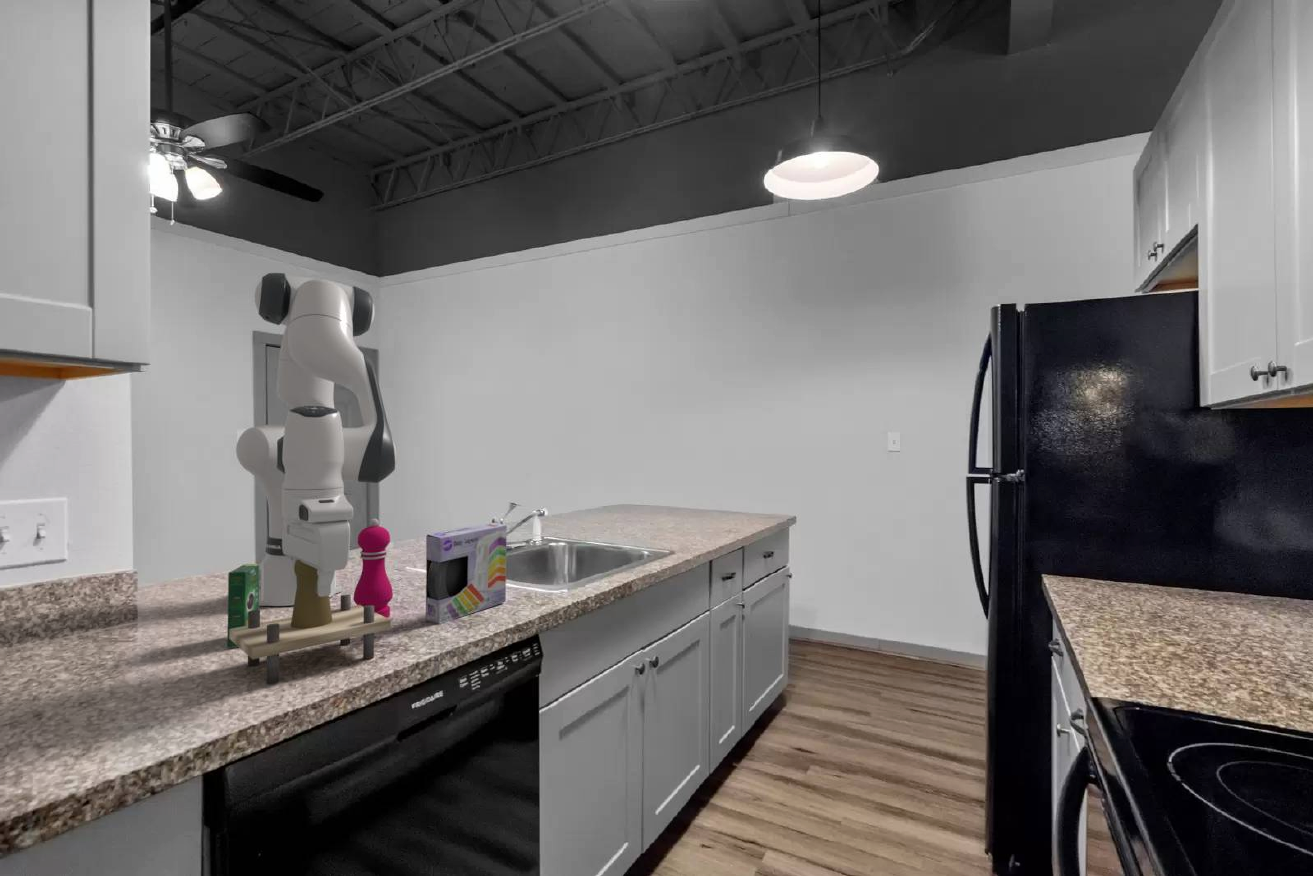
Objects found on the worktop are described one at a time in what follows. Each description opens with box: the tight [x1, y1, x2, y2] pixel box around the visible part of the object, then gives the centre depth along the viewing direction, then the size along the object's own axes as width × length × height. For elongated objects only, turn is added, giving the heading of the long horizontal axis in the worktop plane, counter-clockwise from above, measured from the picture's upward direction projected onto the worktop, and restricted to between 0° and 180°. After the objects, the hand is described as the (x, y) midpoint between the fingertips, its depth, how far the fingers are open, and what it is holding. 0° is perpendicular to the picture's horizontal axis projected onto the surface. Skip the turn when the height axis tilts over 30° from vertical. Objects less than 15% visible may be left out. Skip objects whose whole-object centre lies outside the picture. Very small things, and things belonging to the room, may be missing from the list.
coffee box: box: [226, 563, 260, 649], centre depth 111 cm, size 8×3×13 cm, turn 17°
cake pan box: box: [425, 522, 508, 625], centre depth 129 cm, size 19×5×18 cm, turn 148°
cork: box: [291, 560, 332, 628], centre depth 102 cm, size 6×6×11 cm
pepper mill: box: [353, 518, 394, 619], centre depth 125 cm, size 7×7×20 cm
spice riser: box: [229, 593, 392, 685], centre depth 101 cm, size 13×20×8 cm, turn 137°
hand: (312, 590), depth 101 cm, fingers open, 8 cm apart
